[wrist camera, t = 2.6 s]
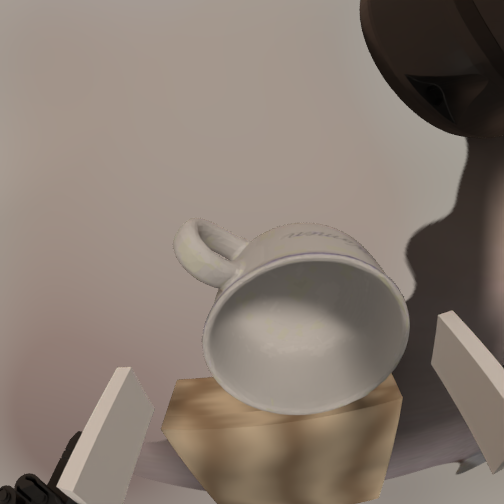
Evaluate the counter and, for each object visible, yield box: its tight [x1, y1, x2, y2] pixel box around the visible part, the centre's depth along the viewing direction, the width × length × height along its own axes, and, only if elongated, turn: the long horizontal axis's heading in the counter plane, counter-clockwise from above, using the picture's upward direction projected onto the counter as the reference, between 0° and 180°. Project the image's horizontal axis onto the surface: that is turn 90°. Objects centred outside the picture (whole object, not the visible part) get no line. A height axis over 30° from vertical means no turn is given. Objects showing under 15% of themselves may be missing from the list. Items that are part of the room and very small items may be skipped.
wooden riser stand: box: [161, 373, 403, 504], centre depth 25 cm, size 18×20×6 cm
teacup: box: [173, 218, 410, 415], centre depth 18 cm, size 14×11×8 cm
